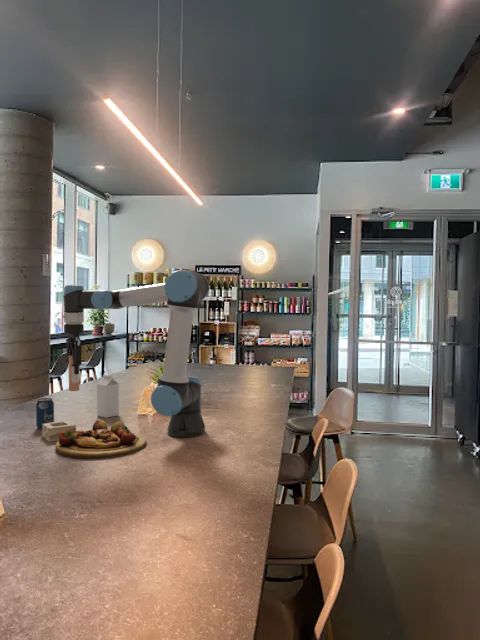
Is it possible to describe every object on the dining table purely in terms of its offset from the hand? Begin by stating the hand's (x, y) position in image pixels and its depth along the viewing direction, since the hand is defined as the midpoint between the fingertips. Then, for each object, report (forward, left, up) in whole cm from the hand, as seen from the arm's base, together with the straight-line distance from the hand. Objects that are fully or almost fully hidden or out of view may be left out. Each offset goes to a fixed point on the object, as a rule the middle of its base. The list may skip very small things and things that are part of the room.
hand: (74, 381), depth 198 cm
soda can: (+17, +7, -21) cm, 28 cm away
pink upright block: (0, 0, -4) cm, 4 cm away
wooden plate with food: (-25, -2, -22) cm, 33 cm away
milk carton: (+23, -23, -21) cm, 39 cm away
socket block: (-2, +7, -21) cm, 22 cm away
